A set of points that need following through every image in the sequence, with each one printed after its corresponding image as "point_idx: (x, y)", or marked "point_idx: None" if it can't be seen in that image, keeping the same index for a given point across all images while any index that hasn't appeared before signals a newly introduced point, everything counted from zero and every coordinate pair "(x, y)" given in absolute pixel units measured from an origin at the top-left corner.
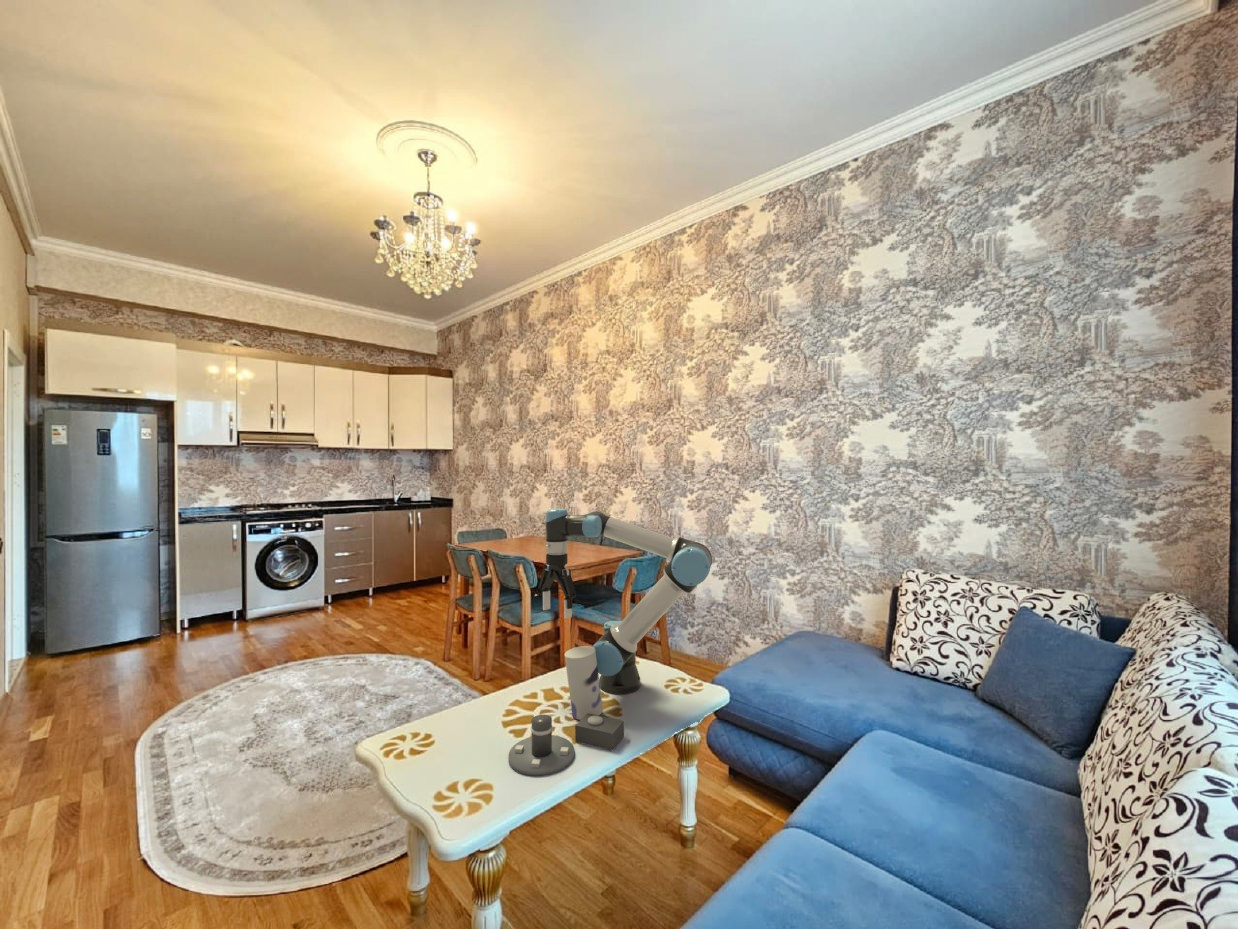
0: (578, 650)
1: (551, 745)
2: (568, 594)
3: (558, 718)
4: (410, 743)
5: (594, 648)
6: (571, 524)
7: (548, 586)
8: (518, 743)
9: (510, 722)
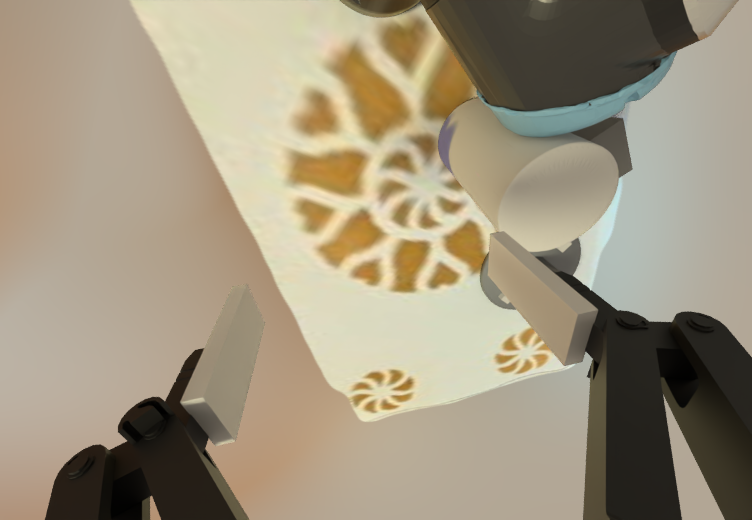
0: (546, 204)
1: (551, 264)
2: (673, 395)
3: (445, 201)
4: (381, 390)
5: (596, 146)
6: None
7: (216, 475)
8: (487, 291)
9: (404, 280)
